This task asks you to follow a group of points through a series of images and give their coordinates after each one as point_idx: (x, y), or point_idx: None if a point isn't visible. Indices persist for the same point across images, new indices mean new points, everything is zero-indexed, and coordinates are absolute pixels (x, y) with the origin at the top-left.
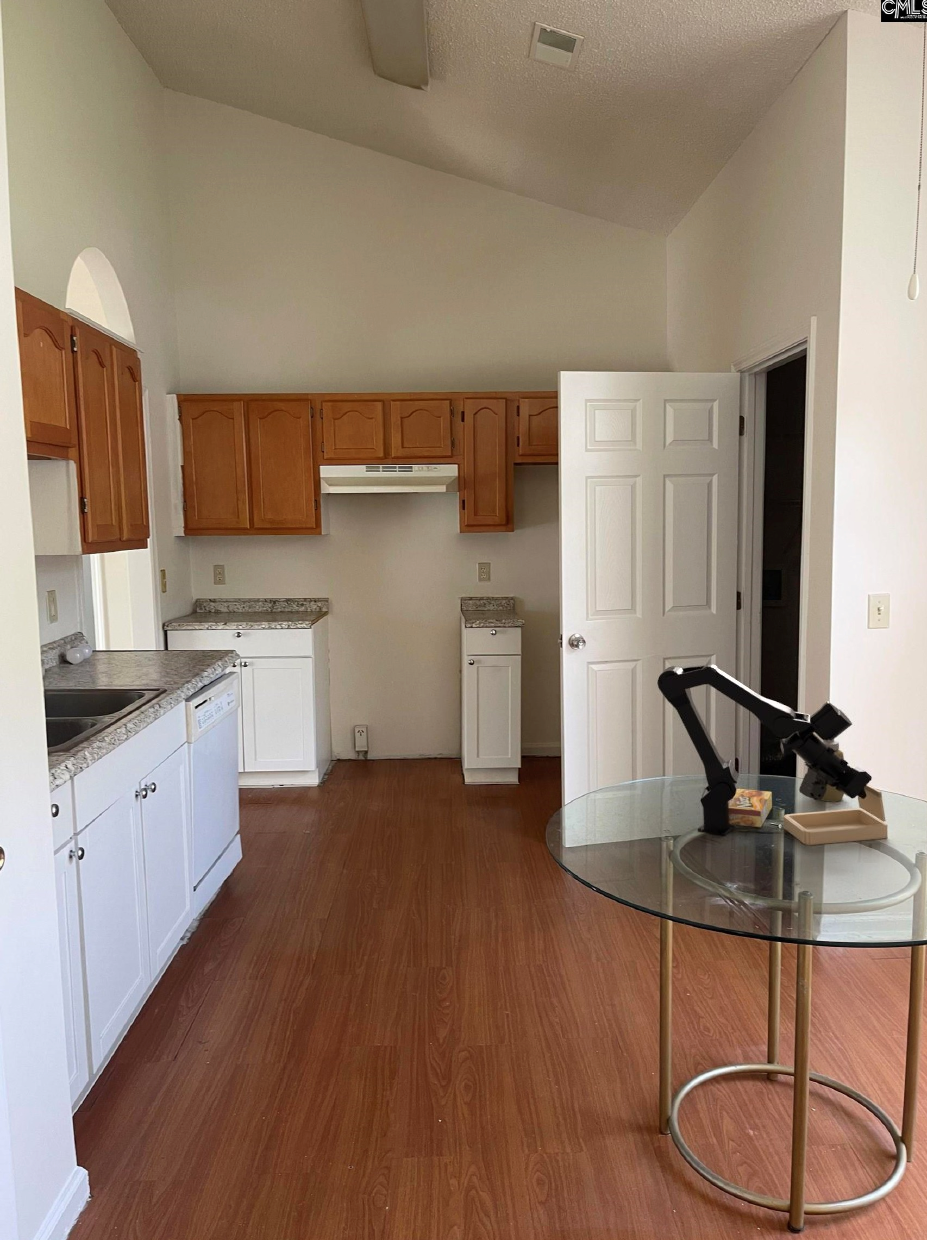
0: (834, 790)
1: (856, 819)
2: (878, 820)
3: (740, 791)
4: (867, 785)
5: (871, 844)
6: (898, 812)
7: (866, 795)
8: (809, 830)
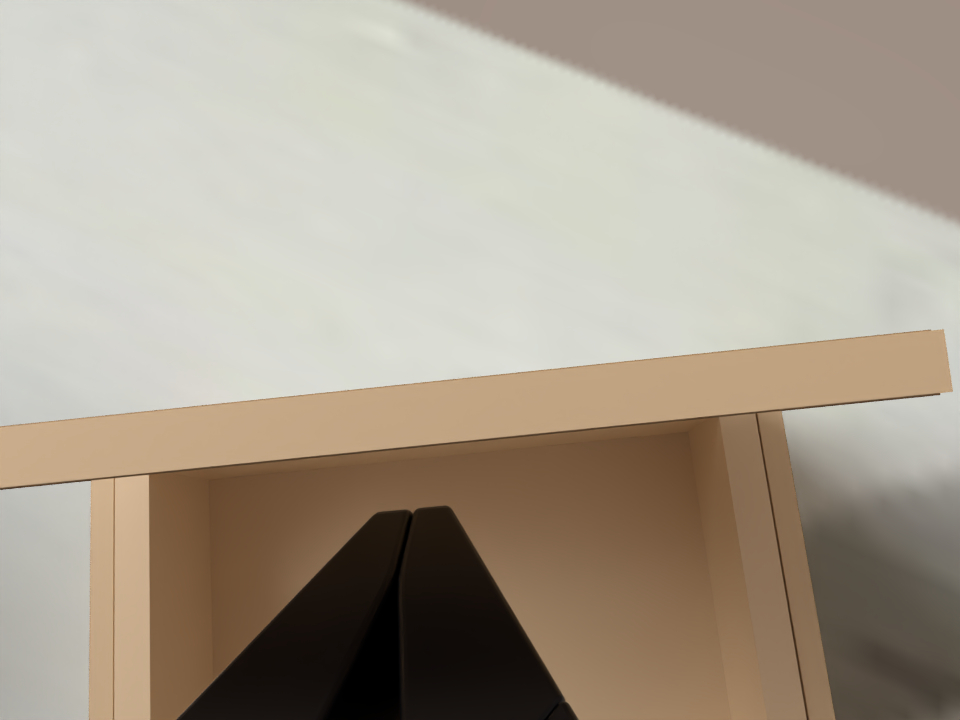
0: None
1: (199, 515)
2: None
3: None
4: (341, 434)
5: (883, 645)
6: (35, 15)
7: (453, 511)
8: None
